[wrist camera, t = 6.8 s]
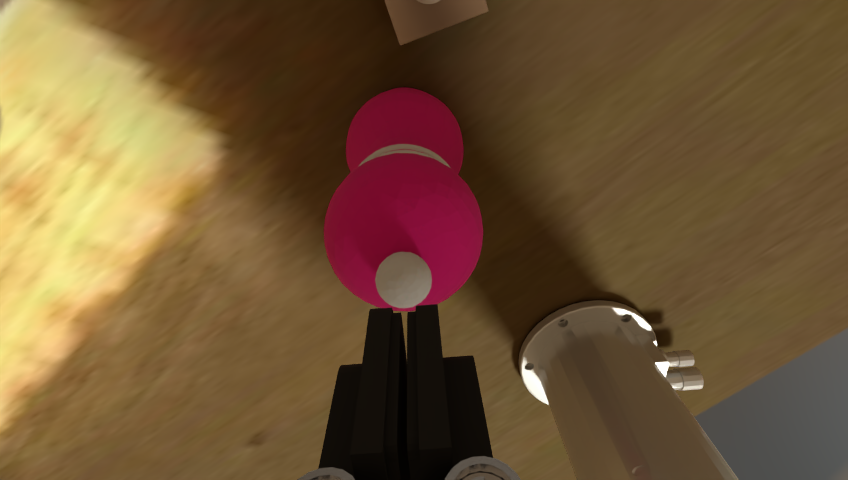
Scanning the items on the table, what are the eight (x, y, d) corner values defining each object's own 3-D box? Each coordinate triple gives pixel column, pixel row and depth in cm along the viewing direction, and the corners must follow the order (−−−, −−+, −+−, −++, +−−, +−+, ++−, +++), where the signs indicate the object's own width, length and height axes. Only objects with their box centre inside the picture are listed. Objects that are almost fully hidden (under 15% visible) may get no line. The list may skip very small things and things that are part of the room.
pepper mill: (388, 56, 28) (356, 125, 10) (476, 117, 30) (576, 263, 12) (335, 147, 31) (238, 327, 13) (419, 198, 33) (435, 413, 15)
